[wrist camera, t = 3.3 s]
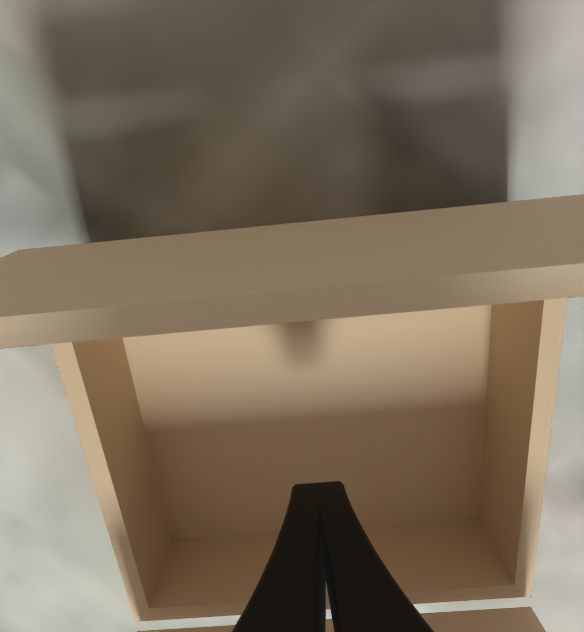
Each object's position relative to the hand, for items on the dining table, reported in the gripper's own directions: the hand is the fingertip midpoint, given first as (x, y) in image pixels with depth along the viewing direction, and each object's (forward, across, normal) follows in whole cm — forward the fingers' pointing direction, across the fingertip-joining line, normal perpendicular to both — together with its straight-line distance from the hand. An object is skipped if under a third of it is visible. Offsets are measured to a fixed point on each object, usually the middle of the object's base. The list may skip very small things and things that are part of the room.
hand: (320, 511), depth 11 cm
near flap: (-1, 0, -7) cm, 7 cm away
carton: (+5, 0, -1) cm, 5 cm away
